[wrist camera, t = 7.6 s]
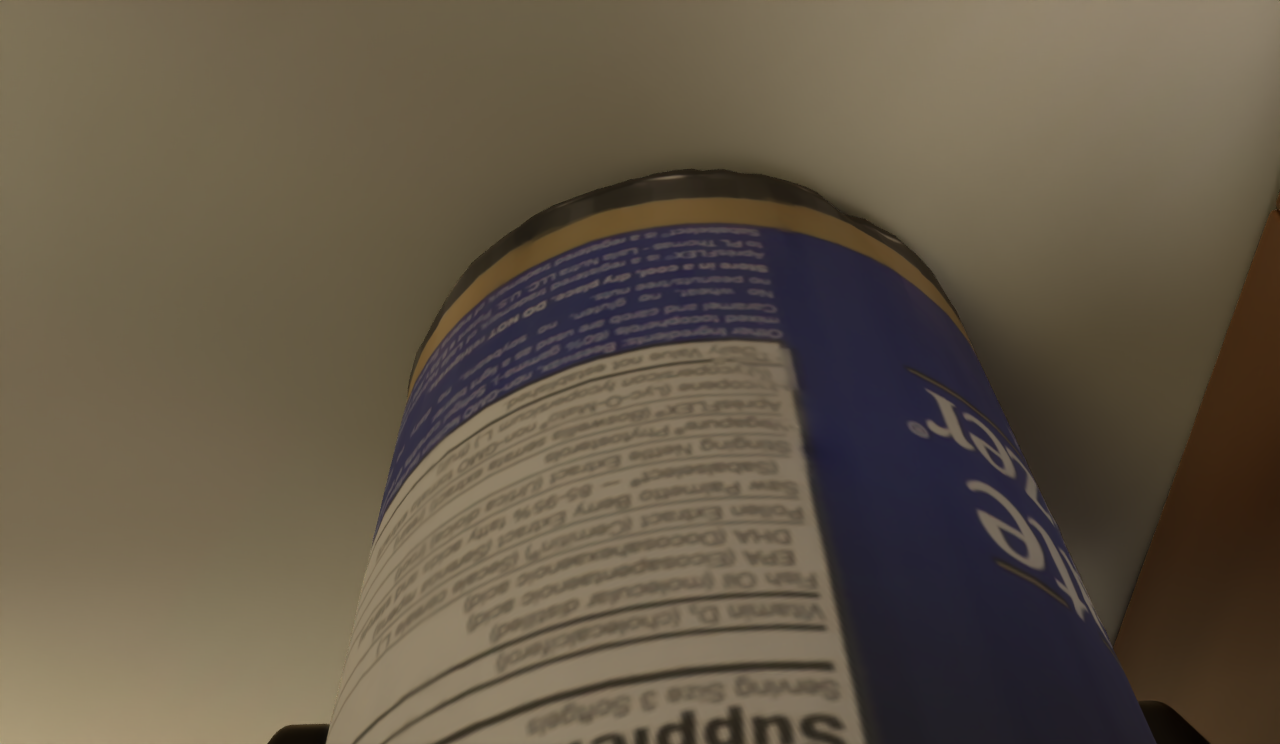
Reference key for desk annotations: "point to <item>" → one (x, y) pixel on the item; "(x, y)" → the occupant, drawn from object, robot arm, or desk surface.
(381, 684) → the pill bottle
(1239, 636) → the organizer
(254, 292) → the desk surface
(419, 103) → the desk surface
